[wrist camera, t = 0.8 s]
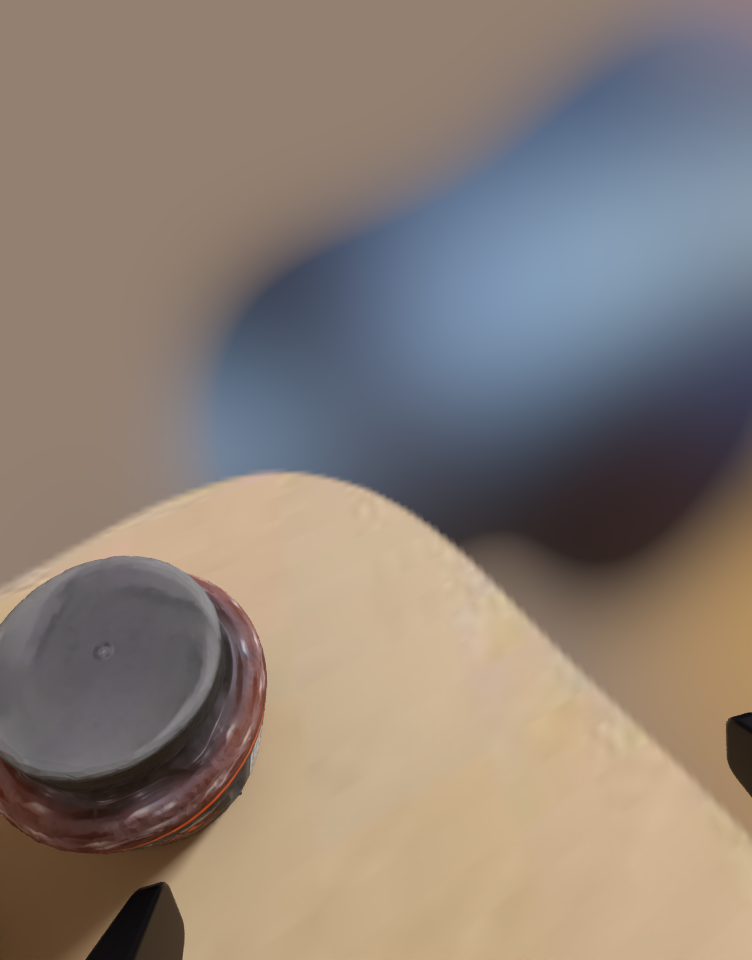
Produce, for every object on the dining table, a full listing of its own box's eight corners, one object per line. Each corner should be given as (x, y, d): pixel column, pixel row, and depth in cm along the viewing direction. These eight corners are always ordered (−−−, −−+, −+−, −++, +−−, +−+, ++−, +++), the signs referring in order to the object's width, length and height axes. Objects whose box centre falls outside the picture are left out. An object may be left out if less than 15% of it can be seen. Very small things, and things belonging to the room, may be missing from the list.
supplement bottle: (77, 871, 15) (-185, 932, 6) (92, 676, 18) (-63, 526, 9) (271, 815, 17) (291, 798, 8) (253, 647, 20) (254, 498, 11)
